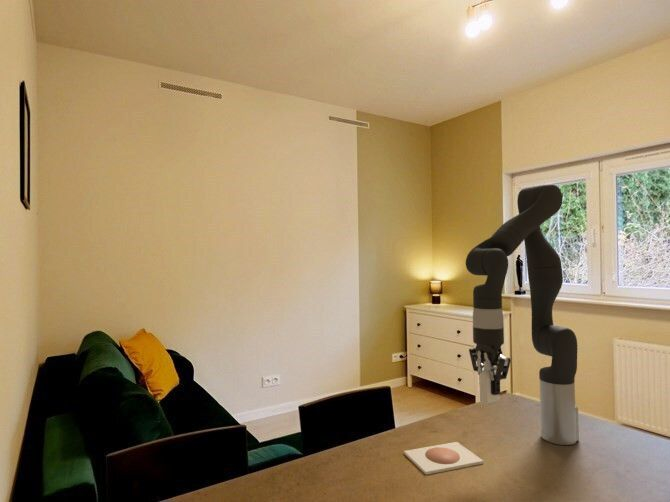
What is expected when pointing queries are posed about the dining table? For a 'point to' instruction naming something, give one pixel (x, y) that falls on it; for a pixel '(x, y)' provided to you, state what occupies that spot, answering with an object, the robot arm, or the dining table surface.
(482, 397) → the eye dropper bottle
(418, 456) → the card
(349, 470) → the dining table surface
